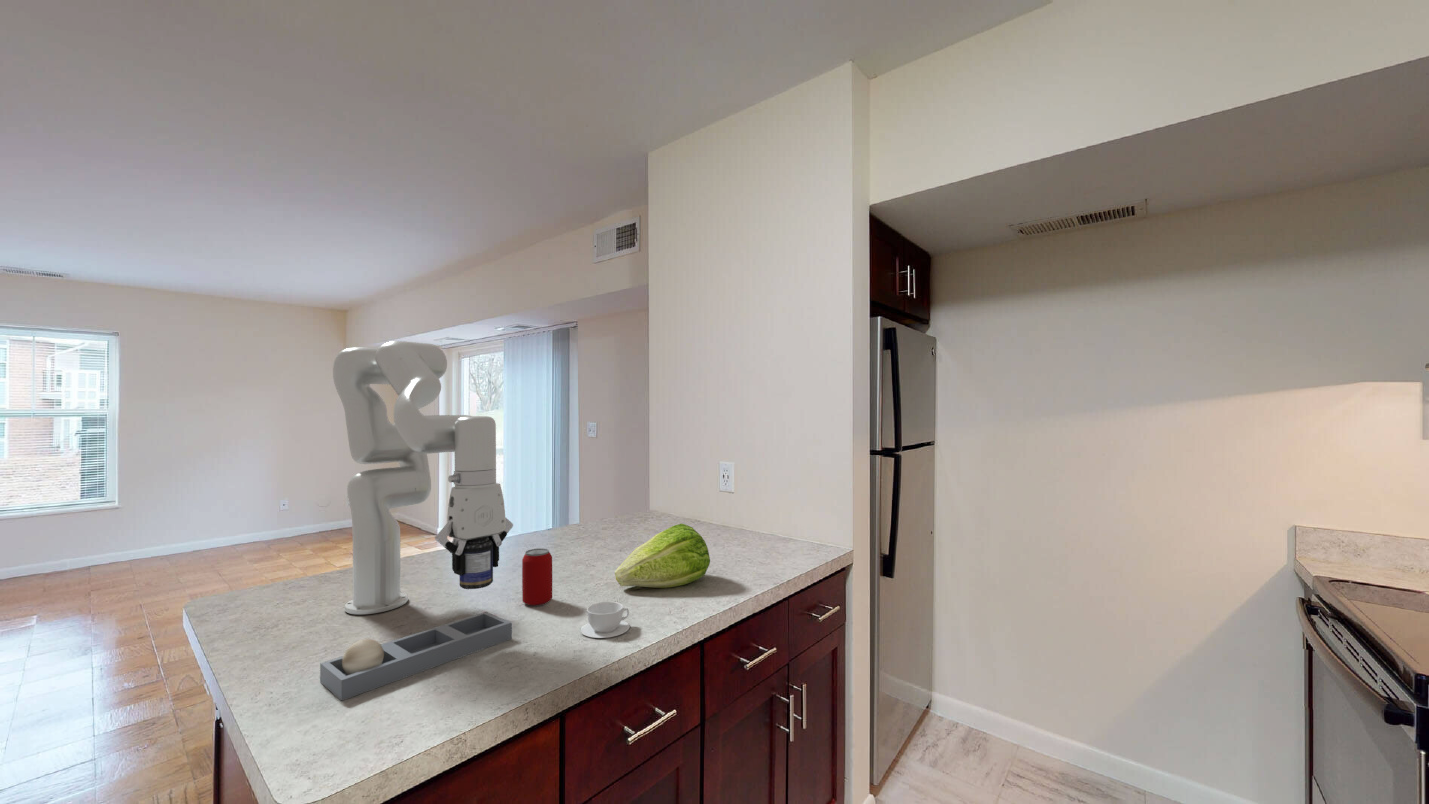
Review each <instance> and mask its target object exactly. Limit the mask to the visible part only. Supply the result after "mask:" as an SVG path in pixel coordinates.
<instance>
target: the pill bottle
mask: <svg viewBox="0 0 1429 804" xmlns="http://www.w3.org/2000/svg"><path fill="white" fill-rule="evenodd" d="M462 554H465V574H464V575H462V576H460V575H459V587H460V588H462V589H464V590H477V589H483V588H486V587H489V586H491V584H492V583H493V582H494V567H493V543H492V541H491V540H490V539H488V536H487V537H482V538H476V539H471V540H467V541H466V543H465V546H464V549H463V552H462Z"/></svg>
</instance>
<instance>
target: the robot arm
mask: <svg viewBox="0 0 1429 804" xmlns="http://www.w3.org/2000/svg"><path fill="white" fill-rule="evenodd" d="M447 368H448V360H447V356H446V354H445V352H444V351H443V349H441V347H439V346H437V345H436V344H432V343H423V342H417V341H415V342H413V341H407V340H393V341H389V342H388V341H387V342H386V343H383V344H382V345H380V346H379V347H377V348H376V347H359V346H358V347H348V348H345V349H343V350H340V352H338V353H337V355H335V358H334V360H333V367H332V379H333V383H334V387H335V389H336V393H337V395H338V396H339V399H340V401H341V403H342V406H343V410H344V415H345V416H344V417H345V425H346V431H347V433H346V434H347V439H348V446H349V451H350V455H351V458H352V459H353V461H354V462H356V463H357V464H361V465H375V464H377V465H378V464H387V463H399V466H398V467H397V466H396V467H383V468H382V467H381V468H374V469H366V470H363V471H360V472H358V473H355V474H354V475H353V476H352V477H351V478H350V480H349V481H348V484H347V488H346V489H347V498H348V503H349V508H350V514H351V524H352V525H351V527H352V528H351V529H352V531H351V532H352V599H351V600H349V601H347V602H346V603H345V604H344V612H346V613H348V614H349V615H359V616H360V615H371V614H379V613H383V612H384V613H385V612H389V611H392V610H395V609H397V608H400V607H401V606H404V605H405V604H406V603H407V602H408V600H409V595H408V594H407V593H406V592H402V591H401V527H400V526H401V525H400V523H399V522H398V520H397V519H396V518H395V517H394V515H393V514H392V513H391V512H390V510H392V509H395V508H400V507H407V506H413V505H414V506H415V505H419V504H422V503H424V502H426V501H427V500H428V499H429V497H430V494H431V490H432V477H431V472H430V470H431V469H430V465H429V458H428V454H441V453H454V471H453V474H452V475H450V474H449V475H448V477H447V478H448V479H447V481H448V482H449V483H453V485H454V486H452V487H451V490H450V494H449V499H448V505H447V506H448V507H447V516H446V517H447V518H446V524H445V525H444V526H443V527H442V529H441V530H440V531H439V532H438V533H437V535H436V536H435V537H434V539H435V541H436V542H437V543H438V544H439V545H441V546H442V547H443V548H445V550H447V551H448V552H449V553H450V554H451V569H452V572H453V573H454V574H455V575H457V576H459V577H460V576H462V575H464V574H465V554H462V552H463V549H464V546H465V543H466V541H467V540H471V539H476V538H482V537H487V536H488V539H490V540H491V541H492V543H493V568H498V567H499V561H500V547H502V544H503V541H504V540H505V539H506V537H507V536H508V534H509V532H510V531H511V530H512V528H513V527H514V523H513V522H511V520H509V519H508V518H507V517H506V510H505V508H506V507H505V499H504V494H503V490H502V485H501V484H500V483H498V482H497V439H496V438H497V437H496V436H497V432H496V431H497V430H496V429H497V427H496V426H497V425H496V420H495V419H494V418H493V417H492V416H487V415H486V416H485V415H476V416H475V415H474V416H473V415H468V414H467V415H466V414H454V415H453V414H451V415H450V414H445V415H444V414H433V415H424V414H423V413H422V412H421V410H420V409H423V408H424V407H426V406H428V405H430V404H432V403H433V402H435V400H436V399H437V398H438V397H439V395H440V393H441V390H442V383H441V381H440V378H442V377H443V376H444V375H445V373H446V372H447ZM371 385H390V386H391V387H392V389H393V390H394V391H395V393H396V395H398V397H397V399H396V401H395V403H394V406H393V420H394V421H393V423H392V422H390V421H389V417H388V410H387V405H386V403H385V401H384V399H383V398H382V396H381V395H380V394H379V393H378V392H377V391H376V390H375V389H373V388H372V386H371ZM448 537H450V538H452V541H450V540H449V539H448Z"/></svg>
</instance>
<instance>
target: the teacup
mask: <svg viewBox="0 0 1429 804" xmlns="http://www.w3.org/2000/svg"><path fill="white" fill-rule="evenodd" d="M625 611H626V613H625V615H624V616H623V614H624V612H625ZM586 613H587V615H586V616H587V620H588V622H587V623H586V624H584V625H582V626H581V628H580V633H581V634H582V635H583V636H586V637H589V638H592V639H593V638H594V639H595V638H596V639H606V638H614V637H617V636H620V635H622V634H624V633H626V632H627V631H629V629H630V626H631V625H630V623H629V622H627V621H625V620H626V619H627V618H628V617H629V615H630V609H629V608H628V607H624V605H623V604H622V603H620V602H617V601H599V602H595V603H592V604H590V605H589V606H588V607H587V608H586Z"/></svg>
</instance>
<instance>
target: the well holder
mask: <svg viewBox="0 0 1429 804" xmlns="http://www.w3.org/2000/svg"><path fill="white" fill-rule="evenodd" d="M511 639H513V623H512V621H509V620H508V619H505V618H502V617H500V616H497V615H496V614H493V613H491V612H488V611H484V612H481V613H476V614H473V615H471V616H467V617H465V618H461V619H458V620H455V621H451V622H448V623H446V624H442V625H439V626H435V627H432V628H429V629H426V630H422V631H420V632H419V631H418V632H417V633H412V634H410V635H406V636H404V637H400V638H396V639H394V640H390V641H388V642H384V643H381V644H380V643H379V644H380V645H381V646H382V648H383V651H384V658H383V662H382V664H380V665H377V666H374V667H372V668H369V669H366V670H363V671H360V672H357V673H354V674H351V675H347V674H346V673H345V671H344V669H343V667H342V659H343V656H344V655H342V656H339V657H336V658H332V659H330V660H326V661H323V662H320V663H319V664H320V665H319V673H320V675H319V680H320V681H319V682H320V684H322V685H323V686H324V687H325V688H326V689H327V690H329V692H331V693H332V694H333V695H334V696H335V697H337V698H338V699H339V700H340V701H345V700H347V699H351V698H353V697H356V696H359V695H361V694H364V693H366V692H370V691H372V690H375V689H377V688H381V687H383V686H387V685H388V684H391V683H393V682H397V681H400V680H402V679H405V678H408V677H410V676H413V675H416V674H418V673H421V672H424V671H426V670H429V669H432V668H436V667H437V666H438V667H439V666H441V665H443V664H446V663H449V662H452V661H454V660H457V659H460V658H463V657H465V656H467V655H470V654H474V653H477V652H479V651H482V650H485V649H487V648H491V647H493V646H495V645H498V644H500V643H503V642H506V641H509V640H511Z"/></svg>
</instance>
